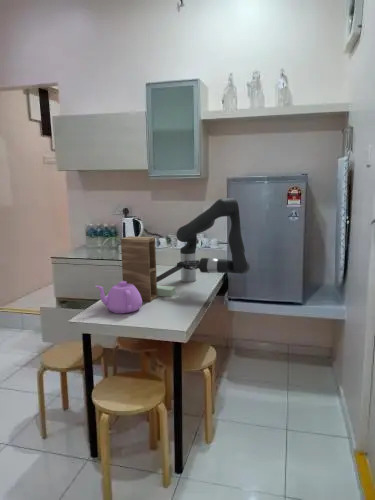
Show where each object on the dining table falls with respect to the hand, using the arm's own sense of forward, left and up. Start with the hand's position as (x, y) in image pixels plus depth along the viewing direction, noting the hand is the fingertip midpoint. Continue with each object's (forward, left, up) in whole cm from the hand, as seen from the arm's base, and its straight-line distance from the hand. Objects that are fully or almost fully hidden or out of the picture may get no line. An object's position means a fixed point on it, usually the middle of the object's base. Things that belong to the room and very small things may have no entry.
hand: (178, 264), depth 205 cm
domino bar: (0, -4, -6) cm, 7 cm away
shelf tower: (+10, -18, -17) cm, 27 cm away
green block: (0, -11, -17) cm, 20 cm away
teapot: (+30, -19, -17) cm, 40 cm away
